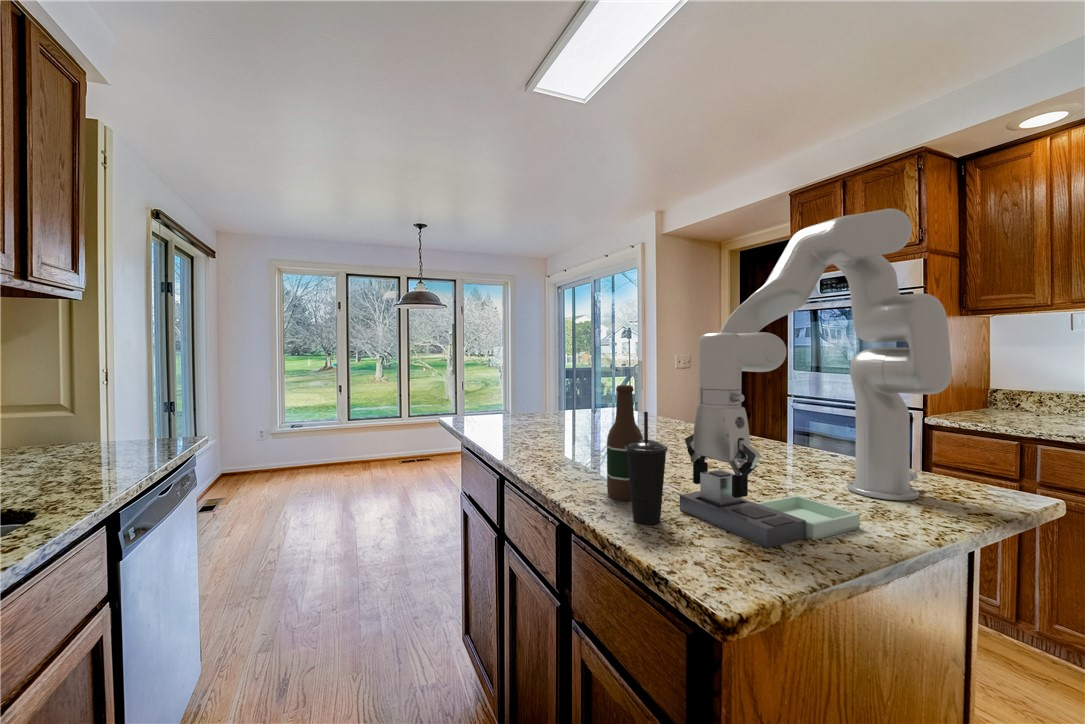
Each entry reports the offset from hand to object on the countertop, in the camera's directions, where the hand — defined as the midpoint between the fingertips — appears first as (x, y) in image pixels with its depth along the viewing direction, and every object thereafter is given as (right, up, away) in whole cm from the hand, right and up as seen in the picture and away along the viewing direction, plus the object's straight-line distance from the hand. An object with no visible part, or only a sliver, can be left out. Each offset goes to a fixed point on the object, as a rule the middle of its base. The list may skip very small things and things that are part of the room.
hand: (719, 489), depth 86 cm
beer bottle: (-15, -5, +13) cm, 21 cm away
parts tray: (+14, -5, -4) cm, 15 cm away
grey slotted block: (+2, -5, -4) cm, 6 cm away
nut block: (0, -5, 0) cm, 5 cm away
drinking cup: (-14, -5, -2) cm, 15 cm away
